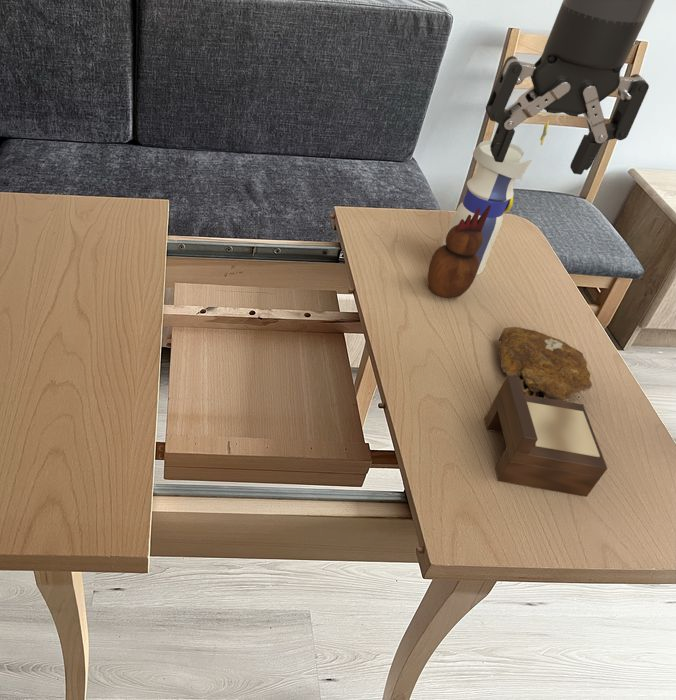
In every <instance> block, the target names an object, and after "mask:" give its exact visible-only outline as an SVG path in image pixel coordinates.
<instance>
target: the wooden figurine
mask: <svg viewBox="0 0 676 700" xmlns="http://www.w3.org/2000/svg"><path fill="white" fill-rule="evenodd" d="M490 208H491V206H490V205H489V206H488V207H487V208H486V210H485V211H484V212H483V214H482V215H481V216H480V218H479V219H478V217H479V212H480V208H478V209H477V210H476V212H475V214H474V215H473V217H472V219H471V215H468V217H467V219H466V220H465V222H464V220H463V219H462V220H461V221H460V223H459V224H458V225H456V226H454V227H452V228H451V229H450V231H449V232H448V231H447V232H448V234H447V233H446V235H447V236H446V235H445V237H446V245H443V246H442V245H440V246H439V247H438V248H437V249H436V250H435V251H434V253H433V254H432V256H431V259H430V261H429V265H428V271H427V284H428V285H427V286H428V289H429V290H430V291H431V292H432V293H433V294H434V295H436V296H438V297H440V298H444V299H456V298H460V297H461V296H462V295H463V294H465V293H466V292H467V291H468V290H469V289H470V288H471V286H472V285H473V283H474V280H475V278H476V277H477V275H478V274H477V271H478V269H479V258H478V255H477V254H476V253H477V252H478V250H479V248H480V247H481V245H482V242H483V235H482V233H481V231H482V228H483V226H484V223H485V221H486V218H487V215H488V213H489V210H490ZM476 274H477V275H476Z"/></svg>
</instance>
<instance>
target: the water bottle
mask: <svg viewBox="0 0 676 700" xmlns="http://www.w3.org/2000/svg"><path fill="white" fill-rule="evenodd" d="M549 124H550V120H547V122H546V124H544V125H543V130H542V134H541V136H540V139H539V140H540V146H543V143H544V140H545V137H546V136H547V134H548V128H549ZM492 140H493V139H490V140H483V141H480V143H478V145H477V146H476V147H475V148H474V150H473V152H472V157H473V159H474V160H475V161H476V162H477V168H476V171H475V173H474V174H473V176H472V177H470V178H469V179H468V180H467V181H466V187H467V189H466V192H465V195H464V198H463V200H462V201H461V202H460V204H459V205H458V207H457V209H456V210H455V213H454V215H453V218H452V220H451V223H450V225H449V228H448V229H447V233H446V235H445V237H444V239H443V242H442V243H441V246H443V245H446V236H447V234H448V232H449V231H450V229H451V228H452V227H454V226H456V225H458V224H459V223H460V221H461V220H462V219H463V220H464V222H465V220H466V219H467V217H468V215H471V219H472V217H473V215H474V214H475V212H476V210H477V209H478V208H480V212H479V217H478V219H479V218H480V216H481V215H482V214H483V212H484V211H485V210H486V208H487V207H488V206H489V205H490V206H491V208H490V210H489V213H488V215H487V218H486V221H485V223H484V226H483V228H482V231H481V233H482V235H483V242H482V245H481V247H480V248H479V250H478V252H477V253H476V254H477V255H478V258H479V269H478V271H477V274H476V276H477V275H480V274H481V273H483V272H484V271H485V268H486V265H487V263H488V260H489V256H490V254H491V251H492V248H493V246H494V244H495V241H496V238H497V236H498V234H499V232H500V229H501V227H502V223H503V220H504V214H505V213H508V212H509V211H511V209H512V207H513V204H514V195H515V193H514V184H515V181H516V180H519V179H520V181H522V179H523V176H524V174H525V172H526V170H527V169H528V167H529V166H530V164H531V162H532V160H531V159H529V160H525V161H522V162H520V160H521V159H522V158H523V156H524V153H525V152H524V150H523V148H521V147H520V146H518V145H516V144H514V143H512V142H511V143H510V146H509V148H508V151H507V153H506V156H505V158H504V161H503V162H502V163H501V162H495V160H494V157H493V155H492V153H491V150H490V145H491V143H492Z"/></svg>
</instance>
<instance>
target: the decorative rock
mask: <svg viewBox="0 0 676 700" xmlns="http://www.w3.org/2000/svg"><path fill="white" fill-rule="evenodd" d="M498 342H499V345H498V348H497V350H498V355H499V358H500V359H499V360H500V368H501V369H502V372H503V373H505V374H506V376H507V375H509V376H515V377H520V381H521V384H522V387H523V391H524V394H525V395H530V396H536V397H538V396H541V395H542V396H543V398H548V399H554V400H560V401H564V400H567V399H572V398H573V397H574V395H575V394H579V393H581V392H585V391H587V390H590V389H591V388H592V387H593V382H592V381H591V372H590V371H589V369H588V366H587V365H588V361H587V360H586V358H585V357H584V353H583V352H581V351H580V350H579V349H577V348H574V347H572V346H571V345H569V344H568V343H566V342H565V341H563V340H561V339H559V338H556V337H553V336H550V335H547V334H545V333H543V332H540V331H537V330H534V329H527V328H523V327H520V326H519V327H517V326H516V327H515V326H514V327H513V326H511V327H504V328H503V330H502V331H501V333H500V335H499V337H498Z"/></svg>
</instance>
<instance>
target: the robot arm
mask: <svg viewBox="0 0 676 700" xmlns="http://www.w3.org/2000/svg"><path fill="white" fill-rule="evenodd" d="M654 3H655V0H562V2H561V4H560V7H559V10H558V13H557V15H556V18H555V19H554V23H553V25H552V28H551V31H550V33H549V36H548V38H547V40H546V43H545V45H544V47H543V52H542V54H541V56H540V57H539V59H538V60H537V61H536V62H534V63H530V62H525V61H520V60H518V58H517V57H516V56H514V55H512V56H511V55H510V56H508V57H507V58H506V59H505V61H504V63H503V65H502V68H501V70H500V73H499V75H498V77H497V80H496V82H495V84H494V87H493V89H492V92H491V93H490V96H489V98H488V100H487V103H486V106H485V111H486V113H487V116H488V118H489V120H490V121H491V122H495V123H496V124H497V126H496V129H495V132H494V134H493V137H492V139H491V140H492V143H491V145H490V150H491V153H492V155H493V157H494V160H495V162H501V163H502V162H503V161H504V158H505V156H506V153H507V151H508V148H509V146H510V143H511V144H512V141H513V138H514V135H515V133H516V131H515V128H516V127H518V126H519V125H521V124H522V123H523V122H524V121H526V120H527V119H529V118H530V119H531V118H533V117H535V116H536V115H538V114H539V113H541V112H542V111H543V110H544V111H546V113H549V114H562V113H563V114H566V115H568V116H569V117H576V118H577V117H579V116H580V115H583V117H584V119H585V123H586V125H587V129H588V133H587V134H584V135H583V137H582V139H581V141H580V143H579V145H578V147H577V149H576V152H575V154H574V156H573V158H572V160H571V162H570V166H569V167H570V170H571V172H572V173H573V174H574V175H581V176H582V174H583V173H584V171H588V170H589V169H590V168H591V167H592V165H593V163H594V161H595V159H596V157H597V155H598V154H599V151H600V149H601V147H602V145H603V144H604V143H605V142H607V141H612V140H617V141H623V140H625V139H626V138H628V136H629V135H630V131H631V129H632V127H633V125H634V122H635V120H636V118H637V115H638V113H639V111H640V109H641V107H642V105H643V102H644V100H645V98H646V96H647V94H648V90H649V89H650V85H649V84H648V82H647V81H646V80H645V79H644V78H643V77H642V76H641V75H640V74H639V73H635V74H632V75H630V76H622V75H621V72H622V68H623V67H624V65H625V64H626V62H627V59H628V57H629V55H630V53H631V52H632V49H633V47H634V45H635V43H636V41H637V39H638V37H639V34H640V32H641V30H642V28H643V26H644V24H645V22H646V20H647V17H648V15H649V13H650V11H651V9H652V6H653V5H654ZM528 77H530V79H531V82H532V85H533V86H532V87H530V88H529V89H527V90H526V91H525V92H524V93H522V94H521V95H520V96H519V97H518V98H517V100H516V101H515V102H514V103H512V104H511V105H510V106H508V107H507V105H508V103H509V101H510V98H511V97H512V93H513V92H514V89H515V87H516V86H519V85H521V84H522V83H523V82H524V80H525V79H526V78H528ZM616 90H617V96H618V97H619V100H618V103H617V105H616V107H615V110H614V112H613V114H612V117H611V119H610V122H608V123H605V117H604V113H603V109H602V106H601V103H600V102H602V101H603V100H605V99H606V98H607V97H609V96H611V94H613V93H614V92H615V91H616ZM506 107H507V108H506Z"/></svg>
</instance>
